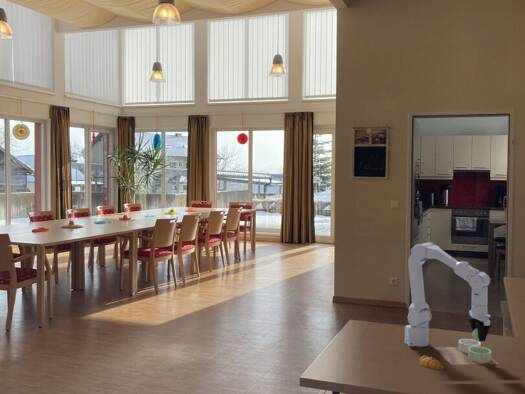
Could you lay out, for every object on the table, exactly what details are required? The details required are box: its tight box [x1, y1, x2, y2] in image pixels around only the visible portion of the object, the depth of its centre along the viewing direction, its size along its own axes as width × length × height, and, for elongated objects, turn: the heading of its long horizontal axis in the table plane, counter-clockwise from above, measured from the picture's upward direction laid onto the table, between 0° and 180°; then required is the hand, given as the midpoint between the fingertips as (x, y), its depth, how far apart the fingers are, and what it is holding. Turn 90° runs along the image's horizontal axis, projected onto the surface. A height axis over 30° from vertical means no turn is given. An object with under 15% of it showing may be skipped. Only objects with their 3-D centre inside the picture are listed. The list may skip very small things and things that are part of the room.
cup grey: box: [458, 338, 482, 354], centre depth 213 cm, size 8×8×4 cm
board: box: [433, 346, 499, 366], centre depth 208 cm, size 18×20×1 cm
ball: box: [471, 329, 481, 343], centre depth 203 cm, size 5×5×5 cm
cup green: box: [468, 346, 492, 363], centre depth 204 cm, size 8×8×4 cm
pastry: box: [417, 355, 445, 371], centre depth 198 cm, size 9×7×4 cm
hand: (479, 338), depth 203 cm, fingers closed on ball, 5 cm apart
